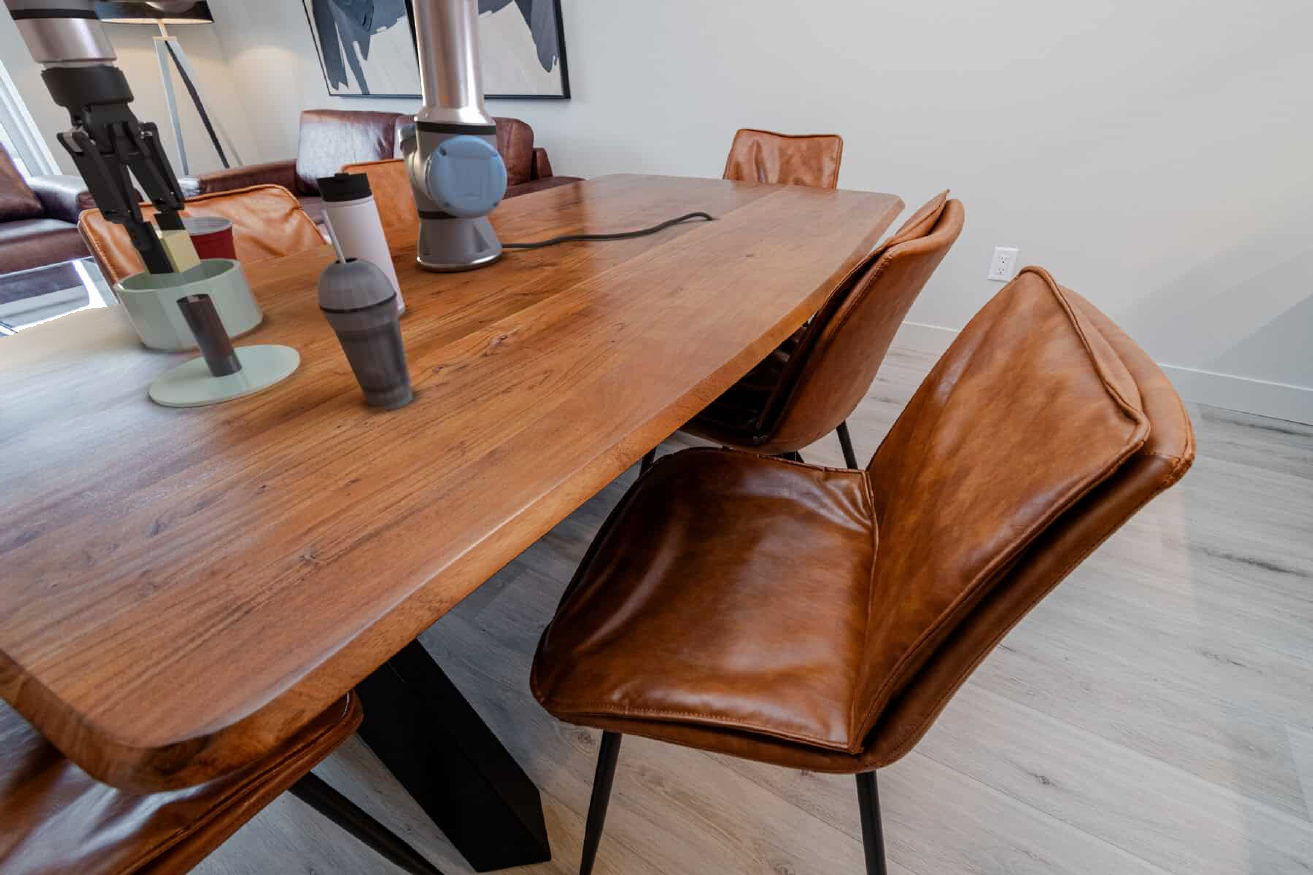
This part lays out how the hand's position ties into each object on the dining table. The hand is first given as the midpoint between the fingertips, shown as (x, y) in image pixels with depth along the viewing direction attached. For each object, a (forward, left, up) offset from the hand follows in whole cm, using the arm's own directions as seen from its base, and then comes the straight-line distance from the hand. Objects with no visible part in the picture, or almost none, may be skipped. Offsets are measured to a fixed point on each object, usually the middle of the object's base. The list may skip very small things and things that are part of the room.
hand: (175, 266), depth 82 cm
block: (0, 0, 0) cm, 0 cm away
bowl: (0, 0, -10) cm, 10 cm away
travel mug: (-25, -2, -10) cm, 27 cm away
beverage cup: (-35, +25, -10) cm, 44 cm away
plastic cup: (+7, -17, -10) cm, 21 cm away
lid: (-13, +17, -9) cm, 23 cm away
